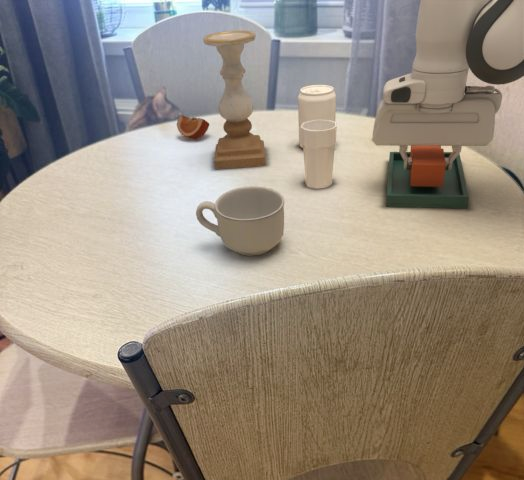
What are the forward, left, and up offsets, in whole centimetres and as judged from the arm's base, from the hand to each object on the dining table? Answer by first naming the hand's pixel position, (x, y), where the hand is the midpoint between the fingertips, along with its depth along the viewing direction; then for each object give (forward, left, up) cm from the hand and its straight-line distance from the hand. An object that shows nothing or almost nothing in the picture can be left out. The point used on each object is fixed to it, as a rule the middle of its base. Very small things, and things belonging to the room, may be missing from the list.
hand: (426, 169), depth 97 cm
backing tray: (0, -3, -4) cm, 5 cm away
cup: (+20, -2, -4) cm, 20 cm away
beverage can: (+23, -23, -4) cm, 33 cm away
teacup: (+29, +24, -4) cm, 38 cm away
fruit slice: (+54, -29, -4) cm, 61 cm away
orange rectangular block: (0, -8, -3) cm, 9 cm away
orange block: (0, 0, -2) cm, 2 cm away
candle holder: (+39, -15, -4) cm, 42 cm away
